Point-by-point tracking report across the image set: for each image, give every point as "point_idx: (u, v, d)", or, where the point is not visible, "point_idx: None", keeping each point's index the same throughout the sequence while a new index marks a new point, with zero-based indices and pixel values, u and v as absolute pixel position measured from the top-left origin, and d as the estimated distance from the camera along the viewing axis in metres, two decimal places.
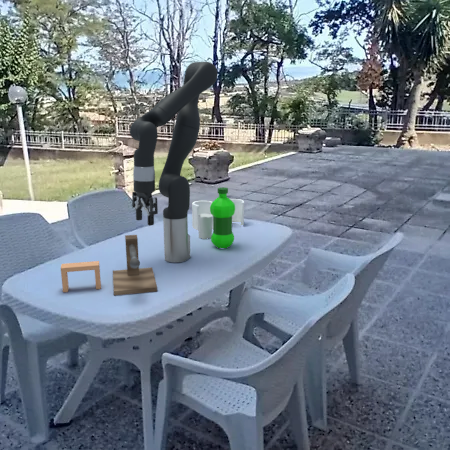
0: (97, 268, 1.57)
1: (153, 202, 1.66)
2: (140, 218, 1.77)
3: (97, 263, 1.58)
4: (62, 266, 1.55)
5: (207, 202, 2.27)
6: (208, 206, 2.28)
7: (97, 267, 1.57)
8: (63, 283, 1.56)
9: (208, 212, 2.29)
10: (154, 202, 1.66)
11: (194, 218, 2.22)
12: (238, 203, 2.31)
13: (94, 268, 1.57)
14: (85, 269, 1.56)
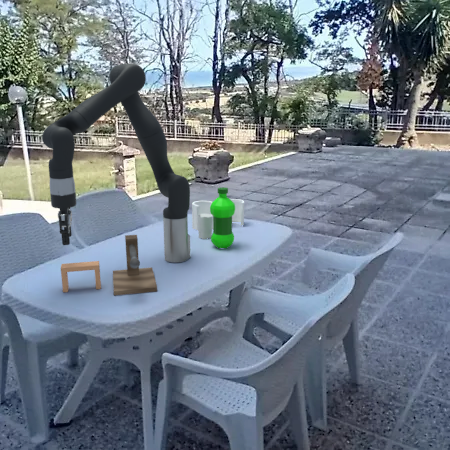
0: (97, 268, 1.57)
1: None
2: None
3: (97, 263, 1.58)
4: (62, 266, 1.55)
5: (207, 202, 2.27)
6: (208, 206, 2.28)
7: (97, 267, 1.57)
8: (63, 283, 1.56)
9: (208, 212, 2.28)
10: None
11: (194, 218, 2.22)
12: (238, 203, 2.31)
13: (94, 268, 1.57)
14: (85, 269, 1.56)
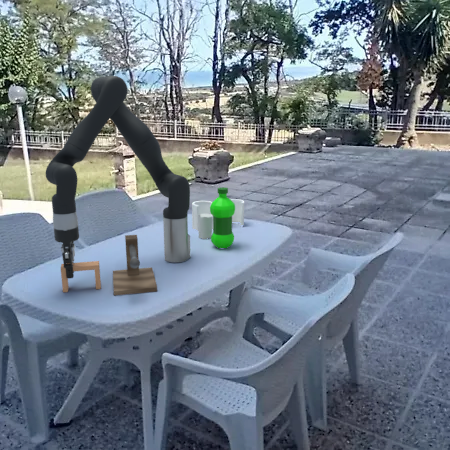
0: (97, 268, 1.57)
1: None
2: None
3: (97, 263, 1.58)
4: (62, 266, 1.55)
5: (207, 202, 2.27)
6: (208, 206, 2.27)
7: (97, 267, 1.57)
8: (63, 283, 1.56)
9: (208, 212, 2.28)
10: None
11: (194, 218, 2.22)
12: (238, 203, 2.31)
13: (94, 268, 1.57)
14: (85, 269, 1.56)
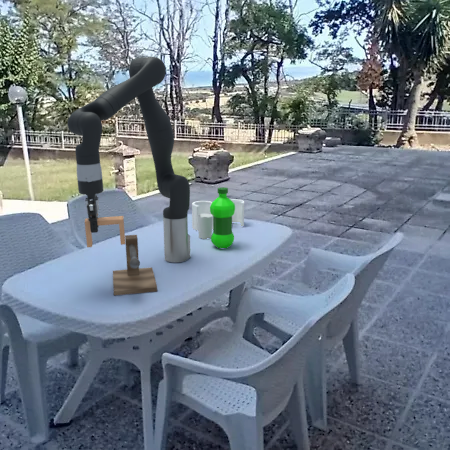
0: (122, 222, 1.53)
1: None
2: None
3: (121, 217, 1.54)
4: (86, 220, 1.51)
5: (207, 202, 2.27)
6: (208, 206, 2.27)
7: (122, 221, 1.53)
8: (87, 238, 1.52)
9: (208, 212, 2.28)
10: None
11: (194, 218, 2.22)
12: (238, 203, 2.30)
13: (118, 222, 1.52)
14: (109, 223, 1.52)
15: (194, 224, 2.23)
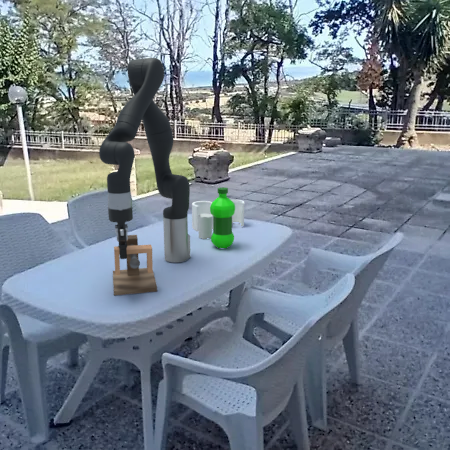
0: (150, 251, 1.55)
1: None
2: None
3: (150, 246, 1.56)
4: (115, 249, 1.54)
5: (207, 202, 2.26)
6: (208, 206, 2.27)
7: (150, 250, 1.55)
8: (116, 266, 1.54)
9: (208, 213, 2.28)
10: None
11: (194, 218, 2.22)
12: (238, 204, 2.30)
13: (147, 251, 1.55)
14: (138, 252, 1.54)
15: (194, 224, 2.22)
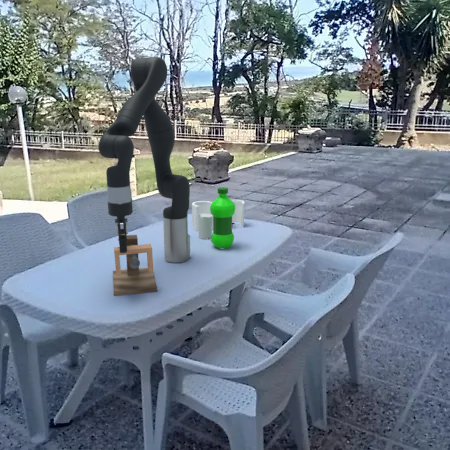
0: (150, 251, 1.55)
1: None
2: None
3: (149, 246, 1.56)
4: (115, 249, 1.54)
5: (207, 203, 2.26)
6: (208, 207, 2.27)
7: (150, 250, 1.55)
8: (116, 266, 1.54)
9: (208, 213, 2.28)
10: None
11: (194, 219, 2.22)
12: (239, 204, 2.30)
13: (147, 251, 1.55)
14: (138, 252, 1.54)
15: (194, 224, 2.22)
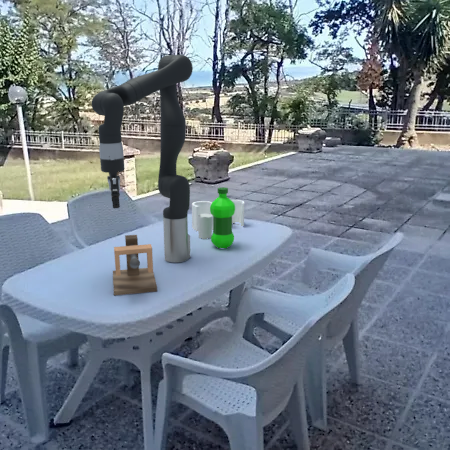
0: (150, 251, 1.55)
1: None
2: None
3: (150, 246, 1.56)
4: (115, 249, 1.54)
5: (207, 203, 2.26)
6: (208, 207, 2.27)
7: (150, 250, 1.55)
8: (116, 266, 1.54)
9: (208, 213, 2.27)
10: None
11: (194, 219, 2.21)
12: (239, 204, 2.29)
13: (147, 251, 1.55)
14: (138, 252, 1.54)
15: (194, 224, 2.22)
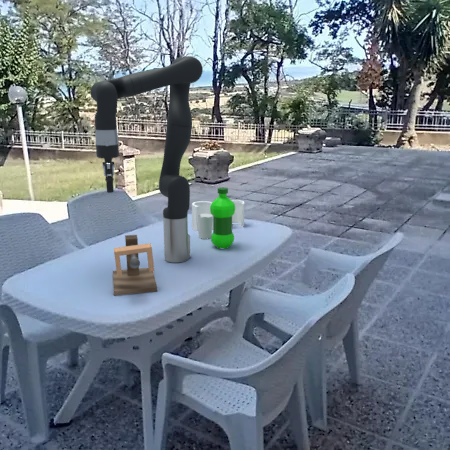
0: (150, 250, 1.55)
1: None
2: None
3: (149, 245, 1.56)
4: (115, 250, 1.54)
5: (207, 203, 2.26)
6: (208, 207, 2.26)
7: (150, 249, 1.55)
8: (117, 267, 1.54)
9: (208, 213, 2.27)
10: None
11: (193, 219, 2.21)
12: (239, 204, 2.29)
13: (147, 250, 1.55)
14: (138, 252, 1.54)
15: (194, 224, 2.22)
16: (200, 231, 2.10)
